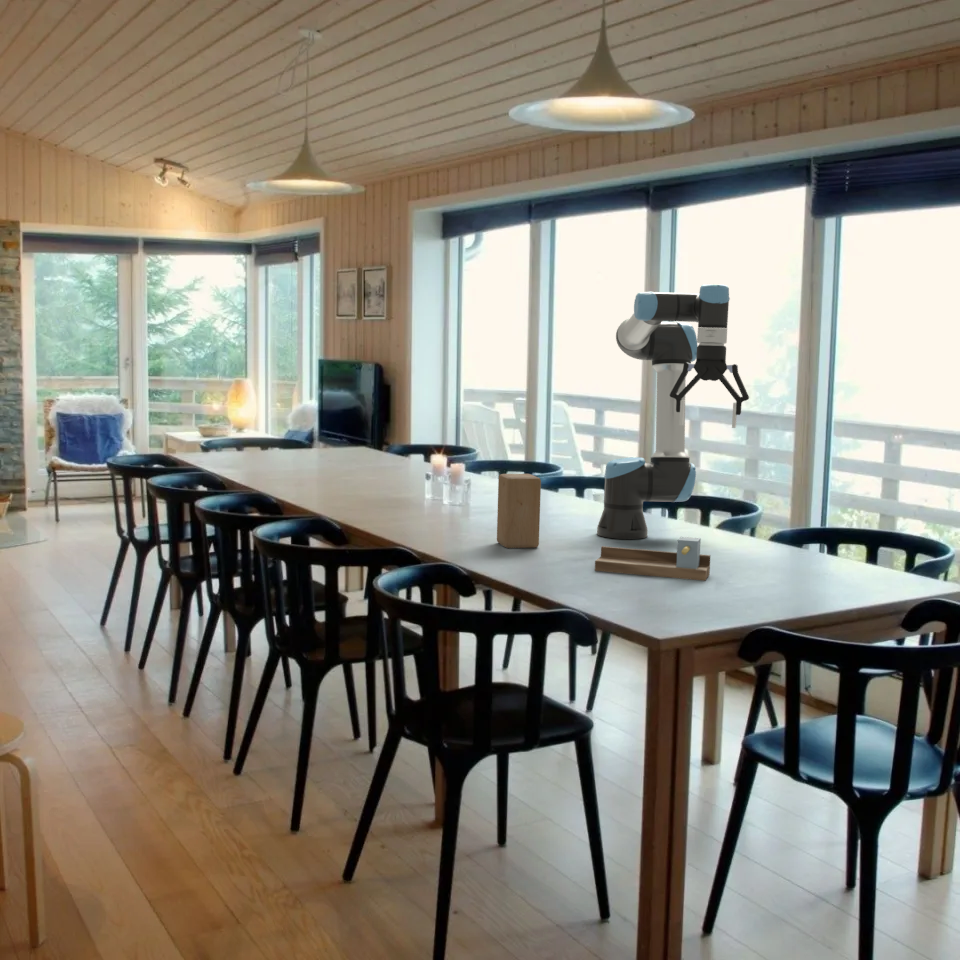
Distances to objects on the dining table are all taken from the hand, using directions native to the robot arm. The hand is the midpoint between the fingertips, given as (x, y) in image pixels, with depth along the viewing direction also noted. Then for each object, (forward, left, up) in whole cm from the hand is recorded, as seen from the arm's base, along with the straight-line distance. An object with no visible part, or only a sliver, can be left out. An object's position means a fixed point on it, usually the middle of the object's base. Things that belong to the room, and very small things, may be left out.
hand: (707, 426), depth 299 cm
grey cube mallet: (+20, -1, -34) cm, 40 cm away
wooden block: (-4, -52, -37) cm, 64 cm away
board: (+17, -10, -37) cm, 42 cm away
